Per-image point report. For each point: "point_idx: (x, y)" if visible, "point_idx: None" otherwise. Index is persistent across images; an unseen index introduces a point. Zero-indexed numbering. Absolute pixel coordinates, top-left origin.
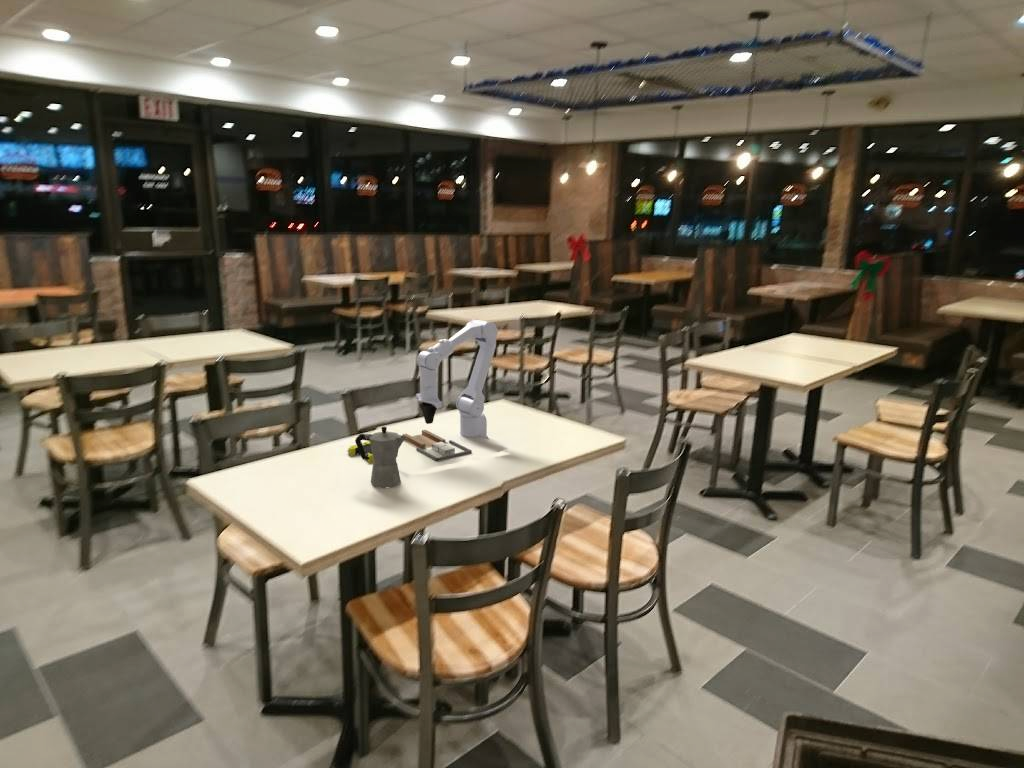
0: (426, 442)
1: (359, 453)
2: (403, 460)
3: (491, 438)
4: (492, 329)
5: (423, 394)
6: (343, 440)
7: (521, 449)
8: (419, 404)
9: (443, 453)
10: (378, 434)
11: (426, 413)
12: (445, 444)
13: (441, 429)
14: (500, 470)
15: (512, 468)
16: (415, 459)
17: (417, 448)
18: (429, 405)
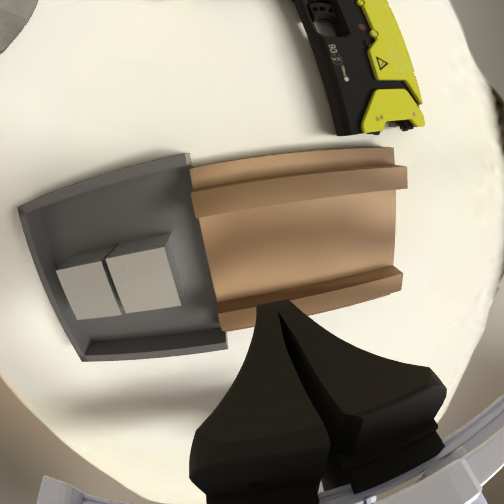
0: (281, 246)
1: None
2: (137, 74)
3: None
4: None
5: None
6: (455, 18)
7: (136, 443)
8: (424, 392)
9: (72, 261)
10: None
11: (245, 371)
12: (132, 305)
13: (406, 342)
14: (4, 350)
15: (18, 375)
16: (123, 129)
17: (171, 156)
18: (226, 493)
